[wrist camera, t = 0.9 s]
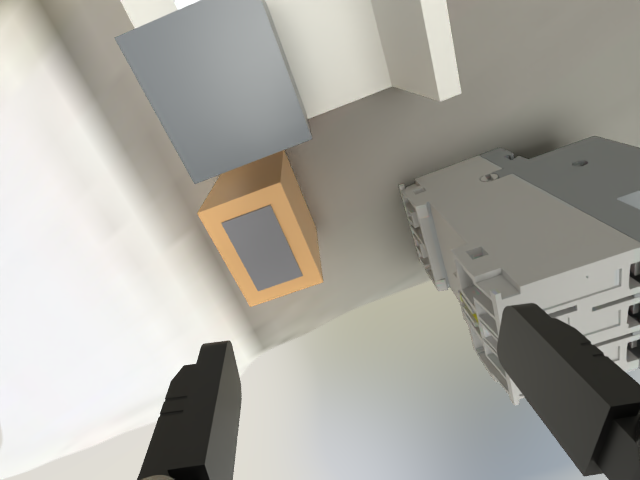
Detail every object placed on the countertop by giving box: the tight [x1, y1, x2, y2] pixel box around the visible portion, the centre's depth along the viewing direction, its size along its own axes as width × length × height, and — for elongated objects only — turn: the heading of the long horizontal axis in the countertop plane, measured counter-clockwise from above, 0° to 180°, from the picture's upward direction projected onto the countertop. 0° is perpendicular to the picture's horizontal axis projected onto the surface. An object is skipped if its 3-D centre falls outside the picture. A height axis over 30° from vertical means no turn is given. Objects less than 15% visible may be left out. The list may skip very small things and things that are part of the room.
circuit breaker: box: [398, 136, 640, 405], centre depth 23 cm, size 8×14×15 cm, turn 110°
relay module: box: [197, 150, 323, 307], centre depth 25 cm, size 5×7×8 cm
